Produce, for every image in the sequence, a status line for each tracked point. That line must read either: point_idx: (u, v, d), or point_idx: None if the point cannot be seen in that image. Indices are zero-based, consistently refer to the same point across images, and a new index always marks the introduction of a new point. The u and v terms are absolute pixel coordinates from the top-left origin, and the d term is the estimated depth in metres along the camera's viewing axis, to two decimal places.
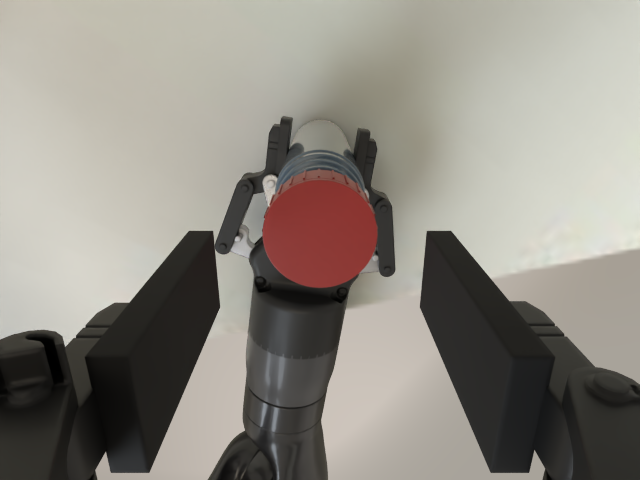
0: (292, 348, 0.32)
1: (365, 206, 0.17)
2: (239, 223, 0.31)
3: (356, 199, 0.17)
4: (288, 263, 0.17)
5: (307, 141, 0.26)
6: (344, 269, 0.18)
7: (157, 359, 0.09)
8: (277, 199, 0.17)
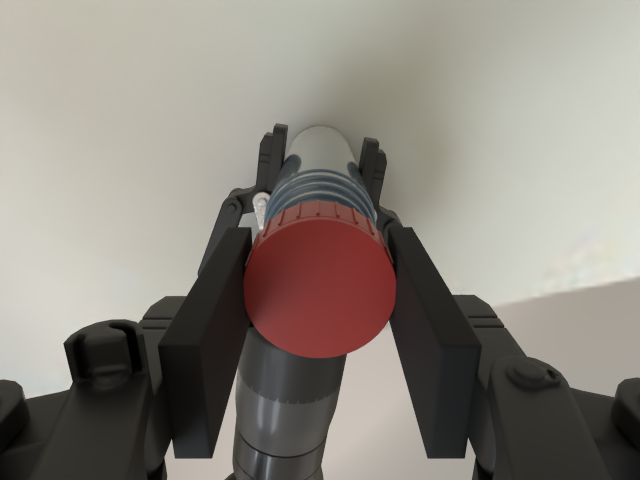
0: (287, 392, 0.28)
1: (381, 254, 0.12)
2: None
3: (369, 245, 0.12)
4: (277, 327, 0.13)
5: (304, 155, 0.21)
6: (352, 335, 0.13)
7: (216, 349, 0.09)
8: (261, 245, 0.12)
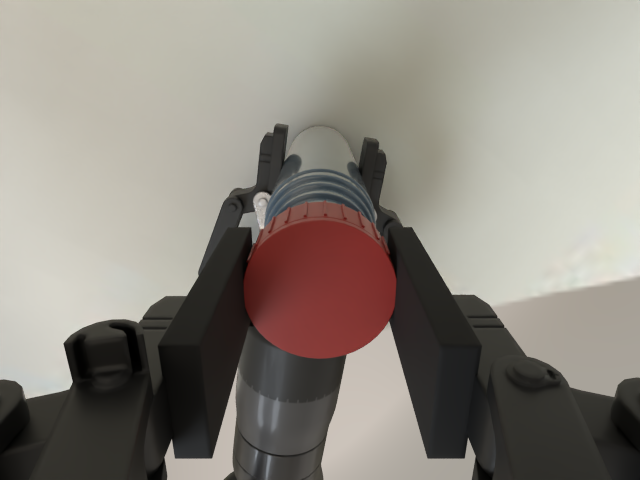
0: (288, 391, 0.28)
1: (269, 242, 0.12)
2: None
3: (261, 255, 0.12)
4: (362, 328, 0.13)
5: (305, 155, 0.21)
6: (366, 258, 0.12)
7: (216, 349, 0.09)
8: (276, 345, 0.13)
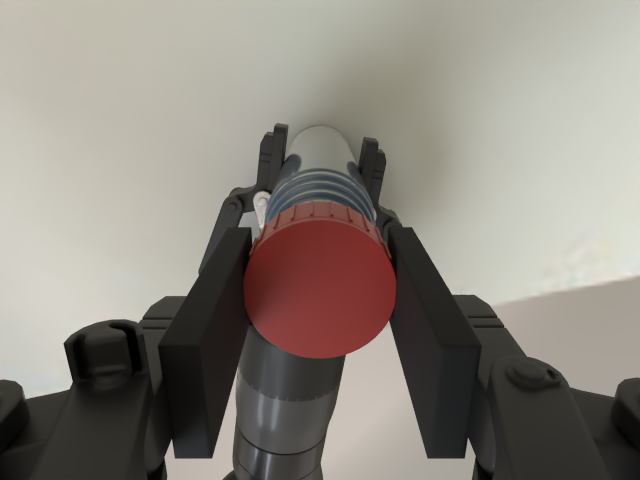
0: (287, 389, 0.28)
1: (271, 339, 0.13)
2: None
3: (285, 345, 0.13)
4: (355, 250, 0.12)
5: (304, 155, 0.21)
6: (275, 256, 0.12)
7: (216, 349, 0.09)
8: (382, 327, 0.13)
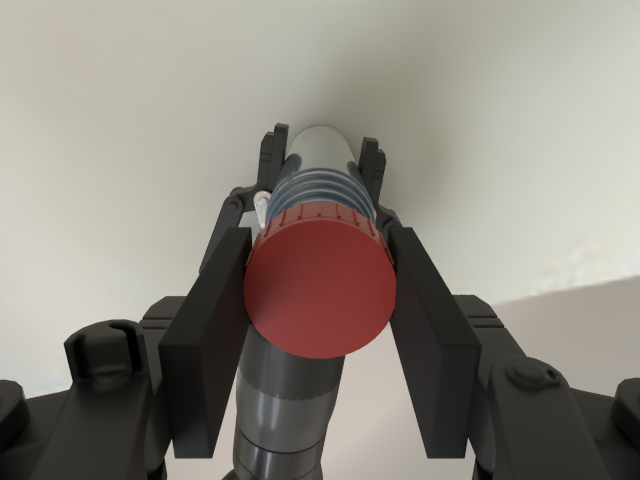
0: (288, 388, 0.28)
1: (376, 332, 0.13)
2: None
3: (382, 320, 0.13)
4: (268, 267, 0.12)
5: (305, 154, 0.21)
6: (285, 334, 0.13)
7: (216, 349, 0.09)
8: (354, 229, 0.12)
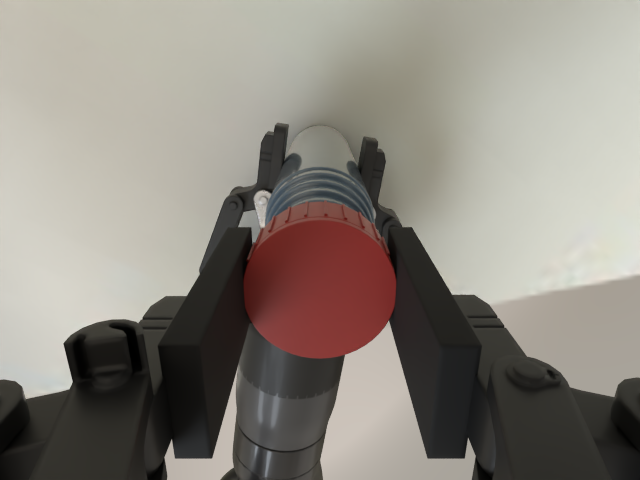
0: (287, 387, 0.28)
1: (360, 235, 0.12)
2: None
3: (344, 231, 0.12)
4: (296, 339, 0.13)
5: (305, 154, 0.22)
6: (368, 321, 0.13)
7: (216, 350, 0.09)
8: (246, 270, 0.12)
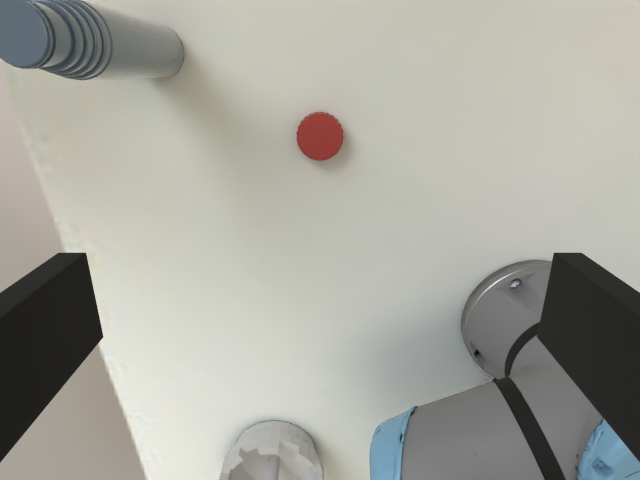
0: None
1: (331, 118, 0.42)
2: None
3: (327, 117, 0.42)
4: (312, 153, 0.43)
5: (133, 36, 0.31)
6: (334, 146, 0.43)
7: None
8: (298, 129, 0.43)
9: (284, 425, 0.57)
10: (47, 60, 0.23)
